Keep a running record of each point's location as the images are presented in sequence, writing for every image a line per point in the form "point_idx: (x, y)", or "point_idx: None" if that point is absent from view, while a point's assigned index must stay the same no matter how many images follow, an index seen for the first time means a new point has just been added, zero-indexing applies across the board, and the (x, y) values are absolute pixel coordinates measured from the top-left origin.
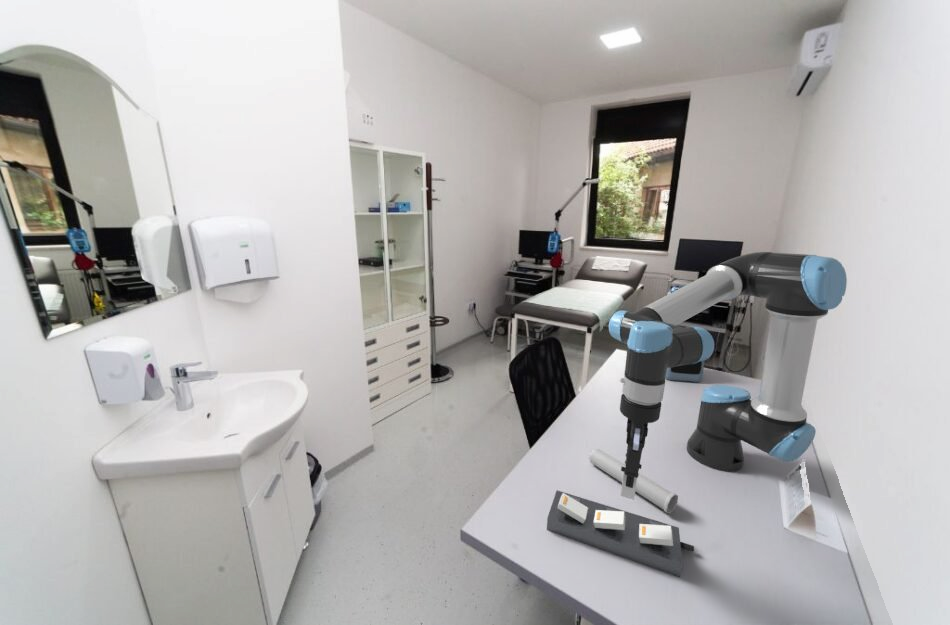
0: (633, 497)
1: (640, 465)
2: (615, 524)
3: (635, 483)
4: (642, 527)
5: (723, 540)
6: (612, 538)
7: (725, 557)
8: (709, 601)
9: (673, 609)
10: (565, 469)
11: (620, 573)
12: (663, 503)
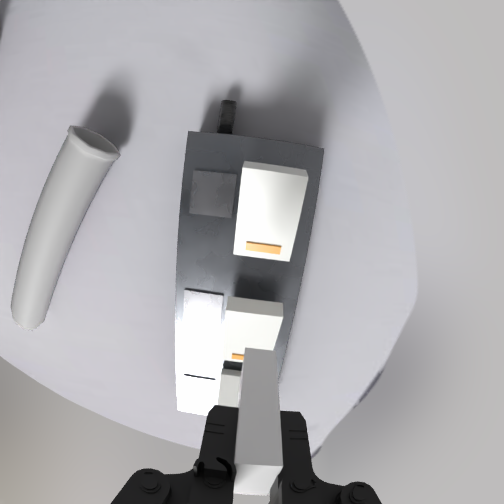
0: (275, 359)
1: (208, 471)
2: (278, 329)
3: (279, 415)
4: (251, 249)
5: (167, 37)
6: (289, 315)
7: (219, 40)
8: (355, 106)
9: (392, 186)
10: (85, 365)
11: (338, 280)
12: (102, 164)
